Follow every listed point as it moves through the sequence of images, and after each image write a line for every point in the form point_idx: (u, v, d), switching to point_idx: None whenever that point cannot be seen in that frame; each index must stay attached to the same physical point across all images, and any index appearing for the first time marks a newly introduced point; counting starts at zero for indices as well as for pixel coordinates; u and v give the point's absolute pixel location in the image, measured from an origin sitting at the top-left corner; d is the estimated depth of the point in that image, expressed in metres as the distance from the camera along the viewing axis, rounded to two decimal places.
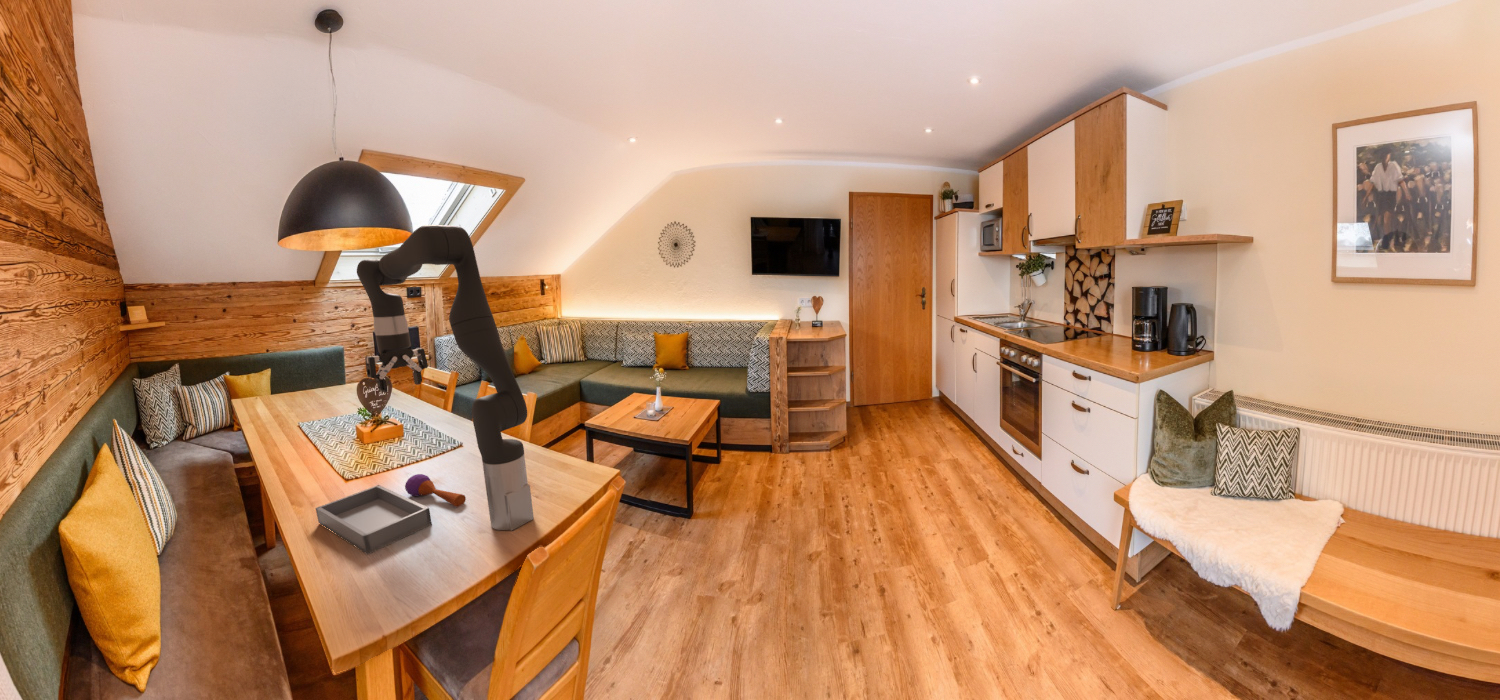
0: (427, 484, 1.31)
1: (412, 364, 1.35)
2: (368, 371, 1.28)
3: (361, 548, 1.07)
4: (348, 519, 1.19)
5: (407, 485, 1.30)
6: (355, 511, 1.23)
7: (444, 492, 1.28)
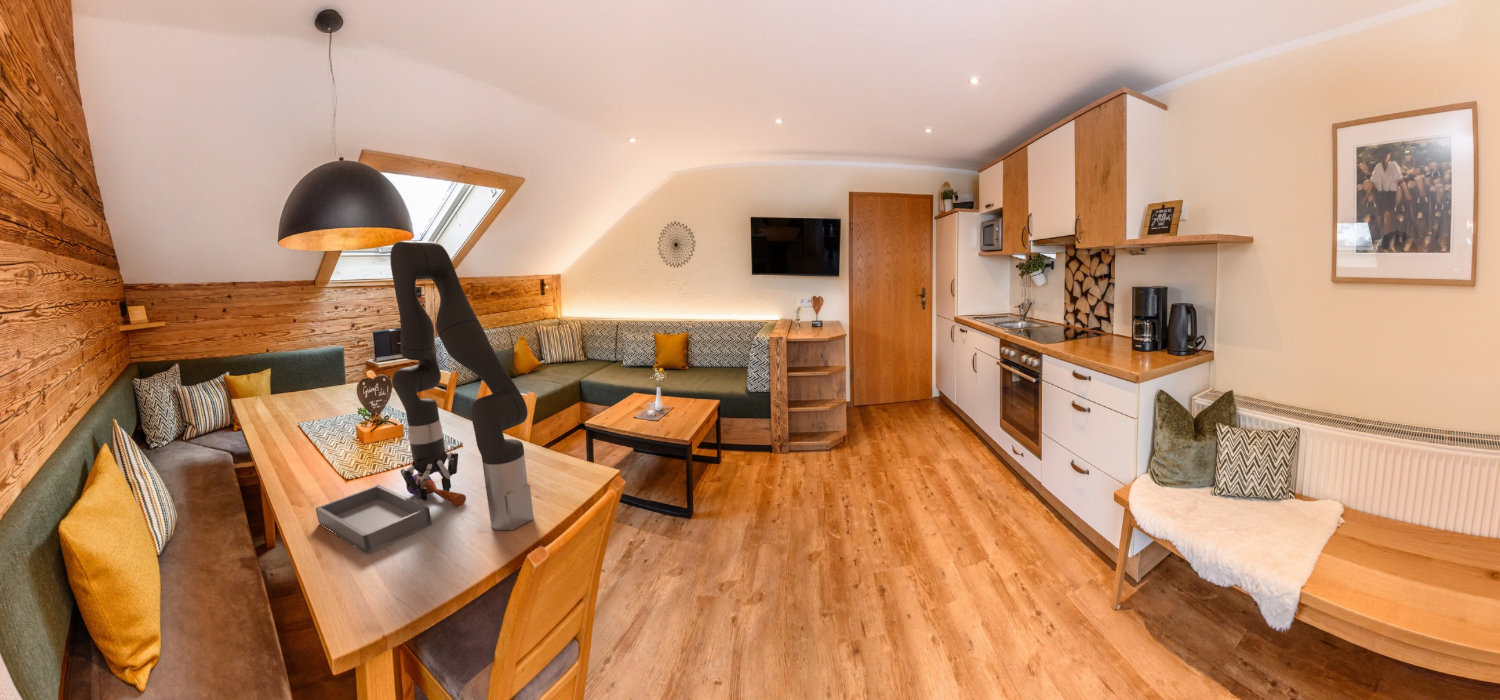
0: (428, 483, 1.31)
1: (443, 470, 1.30)
2: (408, 483, 1.25)
3: (361, 548, 1.07)
4: (348, 519, 1.19)
5: None
6: (355, 511, 1.23)
7: (445, 491, 1.28)
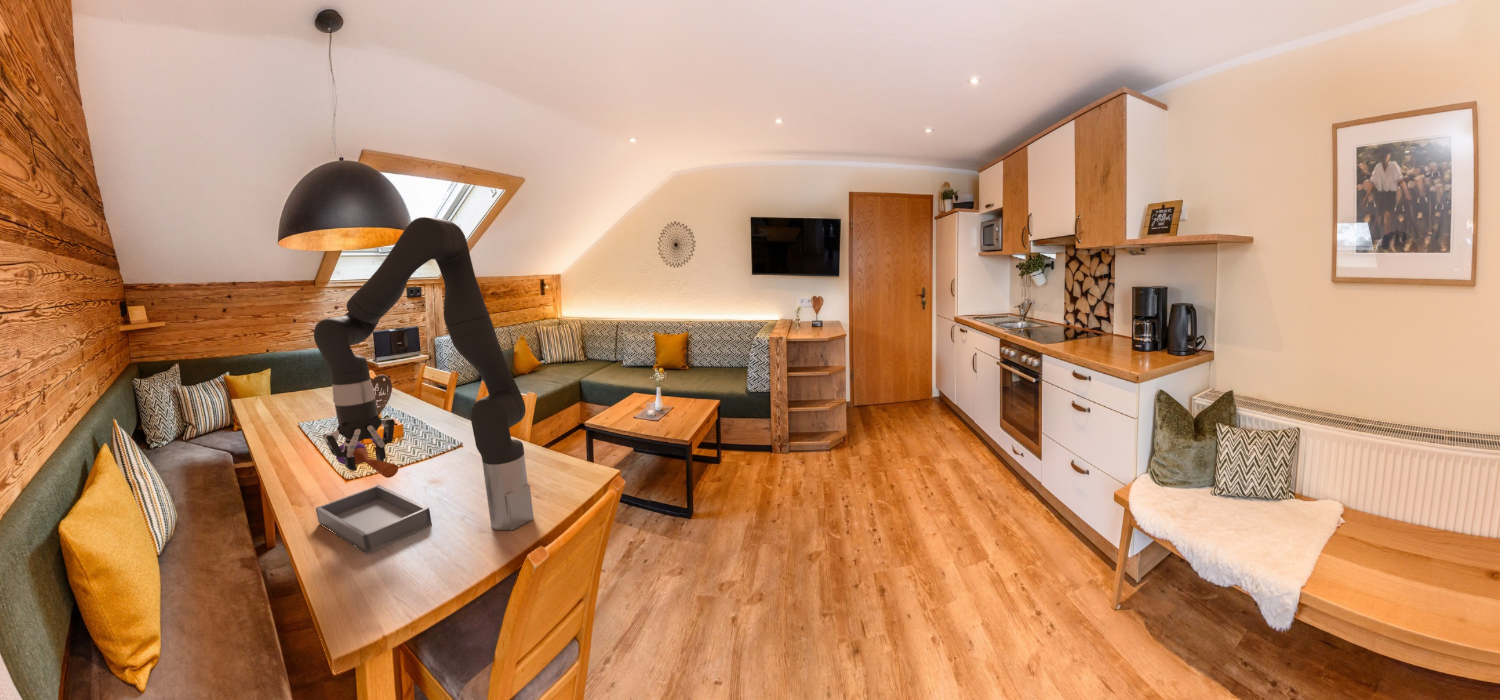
0: (359, 452, 1.16)
1: (376, 437, 1.16)
2: (332, 449, 1.10)
3: (361, 548, 1.07)
4: (348, 519, 1.19)
5: None
6: (355, 511, 1.23)
7: (375, 461, 1.14)
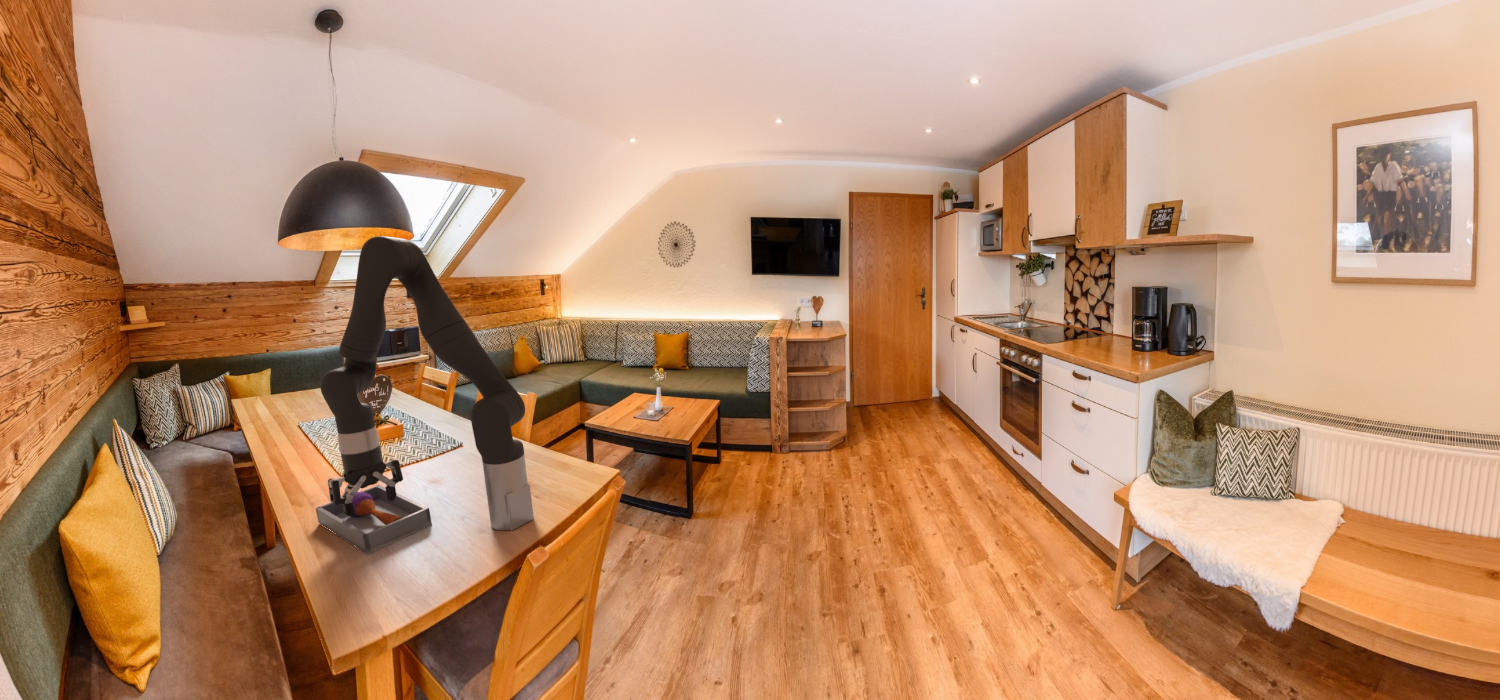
0: (366, 504, 1.18)
1: (384, 480, 1.18)
2: (332, 496, 1.11)
3: (361, 548, 1.07)
4: (348, 519, 1.19)
5: None
6: None
7: (382, 513, 1.15)
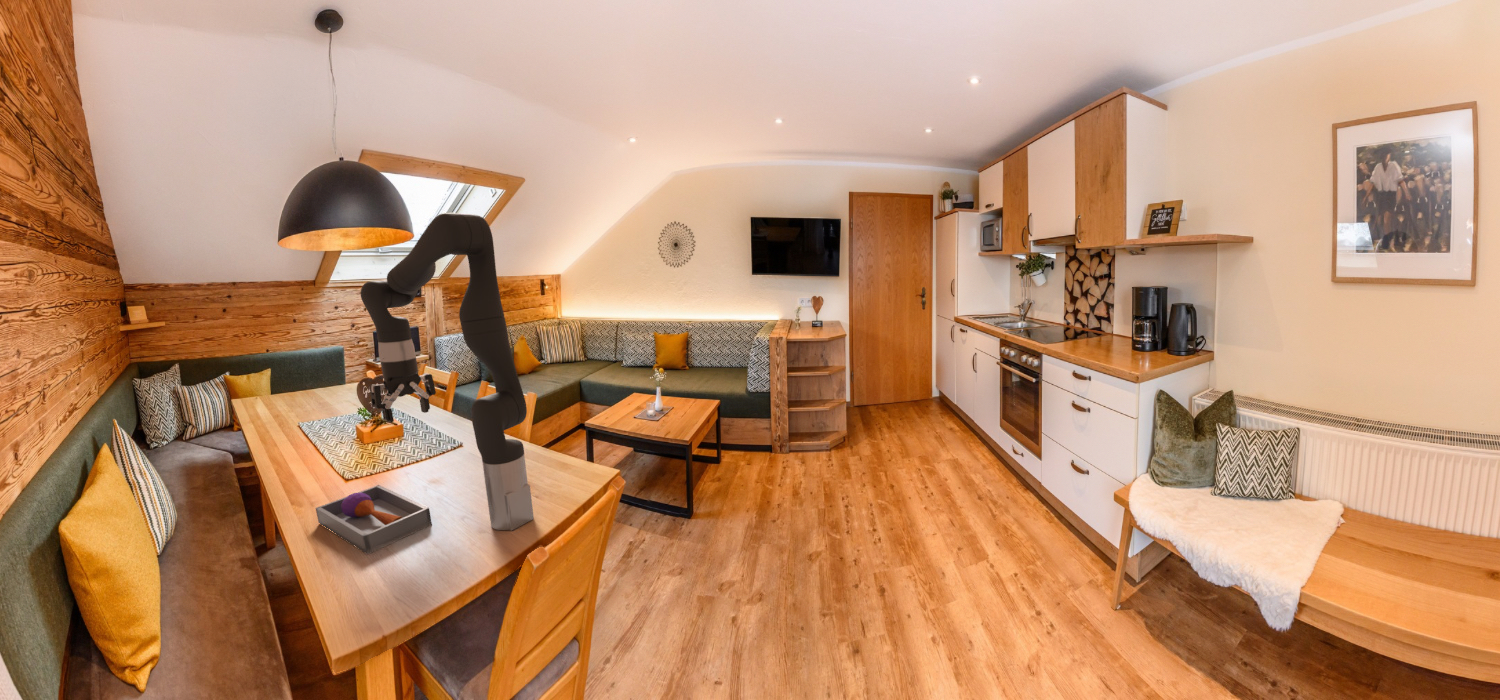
0: (365, 504, 1.18)
1: (419, 391, 1.26)
2: (373, 401, 1.19)
3: (361, 548, 1.07)
4: (348, 519, 1.19)
5: (343, 505, 1.18)
6: None
7: (382, 514, 1.15)
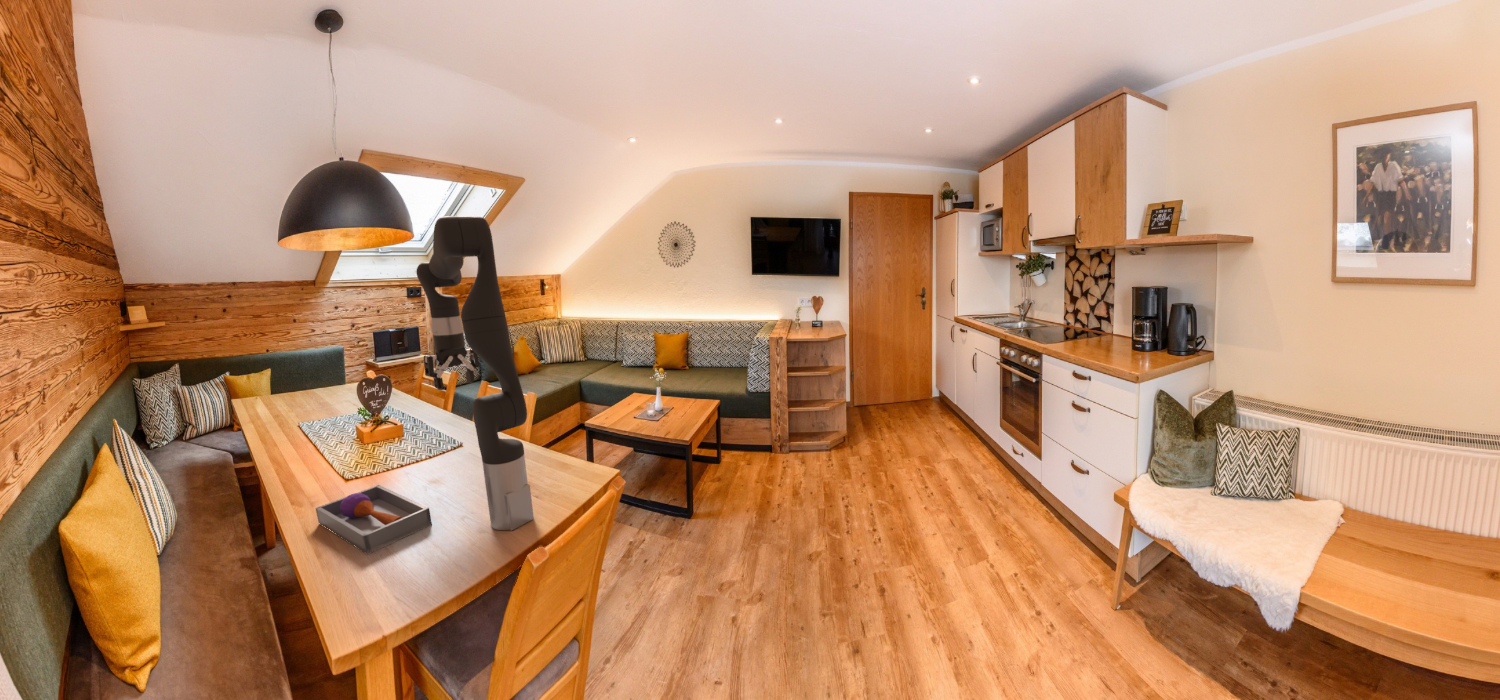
0: (364, 505, 1.18)
1: (466, 363, 1.40)
2: (426, 370, 1.33)
3: (361, 548, 1.07)
4: (348, 519, 1.19)
5: (342, 506, 1.17)
6: None
7: (382, 514, 1.15)
